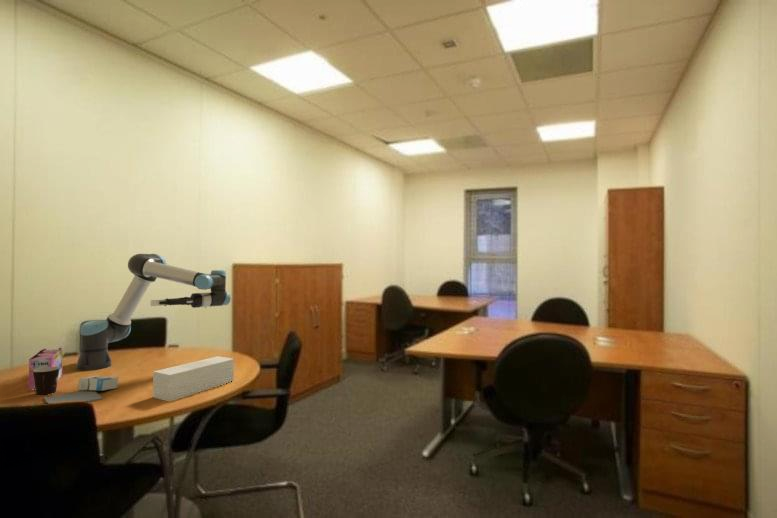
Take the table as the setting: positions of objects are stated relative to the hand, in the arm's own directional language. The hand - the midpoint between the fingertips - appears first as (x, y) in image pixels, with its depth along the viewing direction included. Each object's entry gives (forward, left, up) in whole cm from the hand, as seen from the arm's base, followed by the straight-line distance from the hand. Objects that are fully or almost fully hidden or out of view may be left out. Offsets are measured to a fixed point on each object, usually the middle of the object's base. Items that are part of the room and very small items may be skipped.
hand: (151, 303), depth 204 cm
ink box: (+14, -20, -32) cm, 40 cm away
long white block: (+37, +6, -36) cm, 52 cm away
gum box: (-20, -37, -35) cm, 54 cm away
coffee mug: (0, -40, -35) cm, 54 cm away
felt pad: (+16, -33, -35) cm, 51 cm away
